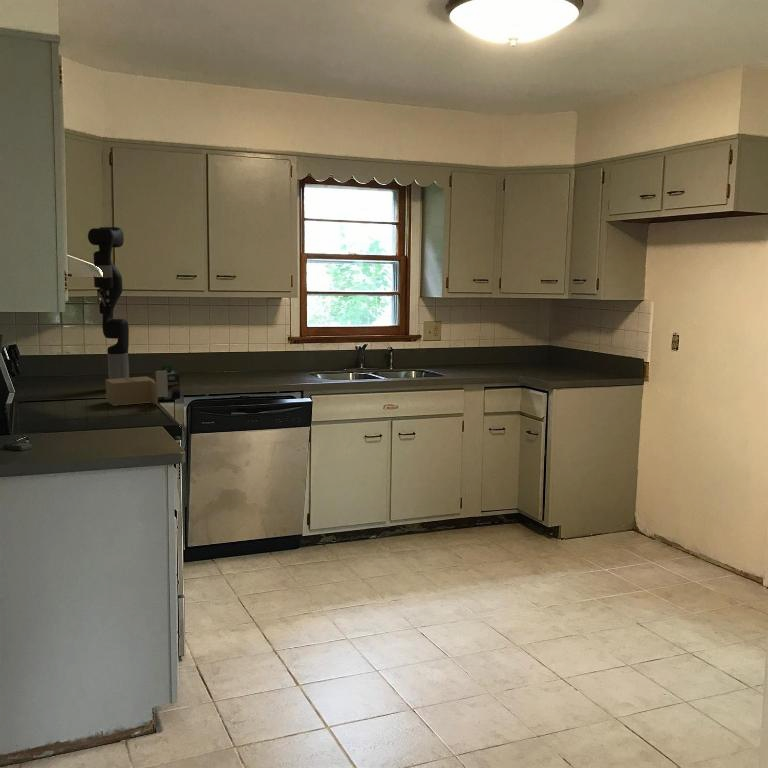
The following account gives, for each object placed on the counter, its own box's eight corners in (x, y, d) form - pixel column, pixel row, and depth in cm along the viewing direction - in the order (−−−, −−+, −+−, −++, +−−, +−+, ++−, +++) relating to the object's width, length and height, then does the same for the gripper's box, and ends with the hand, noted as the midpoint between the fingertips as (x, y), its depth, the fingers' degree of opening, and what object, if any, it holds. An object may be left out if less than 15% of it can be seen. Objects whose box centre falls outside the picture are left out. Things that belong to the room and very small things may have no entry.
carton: (106, 402, 359) (105, 379, 357) (147, 398, 368) (147, 376, 367) (113, 406, 349) (112, 383, 347) (155, 403, 358) (154, 379, 357)
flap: (155, 406, 350) (154, 371, 347) (151, 403, 357) (150, 369, 354) (168, 405, 352) (167, 371, 350) (163, 402, 359) (162, 368, 357)
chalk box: (172, 395, 377) (171, 363, 375) (181, 398, 370) (180, 365, 368) (153, 397, 371) (151, 364, 369) (161, 400, 364) (160, 367, 362)
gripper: (90, 275, 355) (92, 313, 357) (98, 276, 343) (99, 316, 345) (108, 275, 358) (109, 312, 361) (116, 276, 346) (118, 315, 349)
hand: (104, 314), depth 353 cm, fingers open, 8 cm apart
